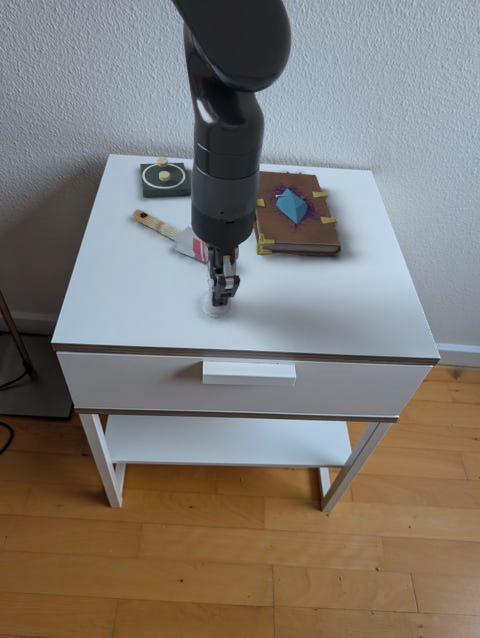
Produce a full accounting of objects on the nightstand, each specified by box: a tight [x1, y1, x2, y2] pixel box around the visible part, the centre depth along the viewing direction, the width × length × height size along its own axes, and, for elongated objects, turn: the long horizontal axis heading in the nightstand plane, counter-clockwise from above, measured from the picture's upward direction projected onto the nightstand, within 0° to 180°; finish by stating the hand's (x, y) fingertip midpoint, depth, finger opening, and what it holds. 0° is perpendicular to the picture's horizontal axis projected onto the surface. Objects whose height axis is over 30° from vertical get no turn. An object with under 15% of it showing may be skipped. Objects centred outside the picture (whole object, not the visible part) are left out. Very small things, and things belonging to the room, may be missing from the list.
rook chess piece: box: [201, 268, 232, 318], centre depth 62 cm, size 4×4×8 cm
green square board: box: [139, 162, 190, 198], centre depth 81 cm, size 8×8×2 cm
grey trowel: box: [132, 208, 207, 263], centre depth 71 cm, size 4×3×20 cm
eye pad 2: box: [159, 171, 170, 181], centre depth 79 cm, size 2×2×1 cm
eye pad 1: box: [156, 156, 169, 167], centre depth 81 cm, size 2×2×1 cm
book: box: [253, 170, 342, 257], centre depth 78 cm, size 16×25×5 cm, turn 6°
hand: (217, 293), depth 62 cm, fingers closed on rook chess piece, 3 cm apart
